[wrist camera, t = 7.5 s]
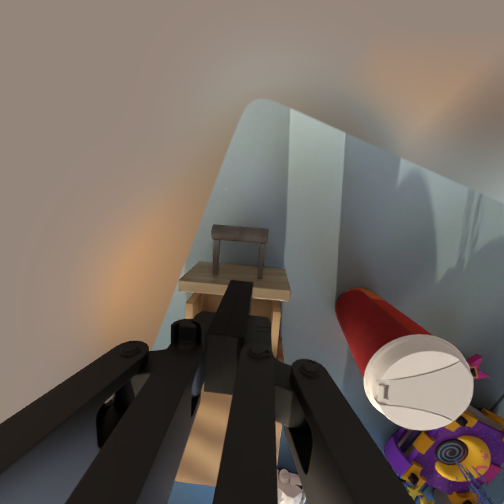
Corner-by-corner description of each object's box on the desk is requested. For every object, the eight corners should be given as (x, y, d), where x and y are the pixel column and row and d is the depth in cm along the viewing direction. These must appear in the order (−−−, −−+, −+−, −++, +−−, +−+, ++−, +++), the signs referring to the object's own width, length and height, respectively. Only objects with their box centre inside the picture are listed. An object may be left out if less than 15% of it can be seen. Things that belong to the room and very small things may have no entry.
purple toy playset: (351, 462, 39) (388, 577, 27) (448, 335, 34) (546, 411, 22) (431, 499, 40) (501, 628, 28) (539, 380, 34) (684, 478, 22)
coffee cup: (326, 336, 35) (369, 436, 20) (326, 281, 33) (372, 346, 19) (388, 334, 34) (478, 436, 20) (391, 278, 33) (491, 343, 18)
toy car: (303, 502, 41) (307, 536, 37) (233, 485, 42) (229, 517, 37) (312, 474, 40) (318, 506, 36) (240, 457, 40) (237, 487, 36)
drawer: (200, 218, 32) (179, 225, 24) (290, 226, 31) (297, 235, 23) (196, 351, 36) (177, 393, 28) (275, 360, 35) (277, 404, 28)
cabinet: (194, 329, 36) (169, 375, 27) (281, 337, 35) (286, 388, 26) (192, 412, 39) (168, 480, 30) (272, 422, 39) (273, 494, 29)
